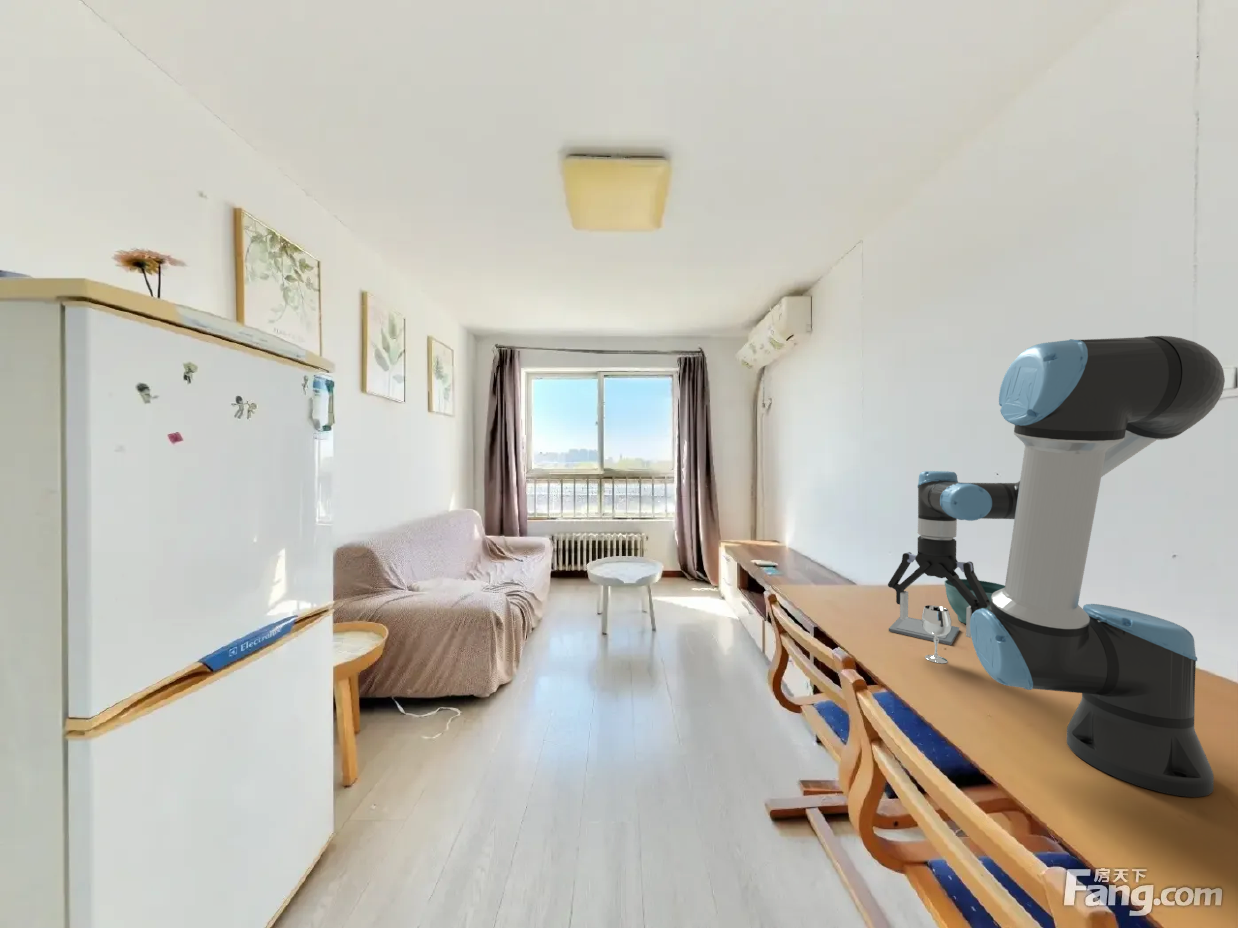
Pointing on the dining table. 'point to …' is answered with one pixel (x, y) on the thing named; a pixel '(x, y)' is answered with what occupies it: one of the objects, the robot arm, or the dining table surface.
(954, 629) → the coaster
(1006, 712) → the dining table surface
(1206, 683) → the dining table surface
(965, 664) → the dining table surface
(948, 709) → the dining table surface
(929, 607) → the wineglass
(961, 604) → the flower pot
